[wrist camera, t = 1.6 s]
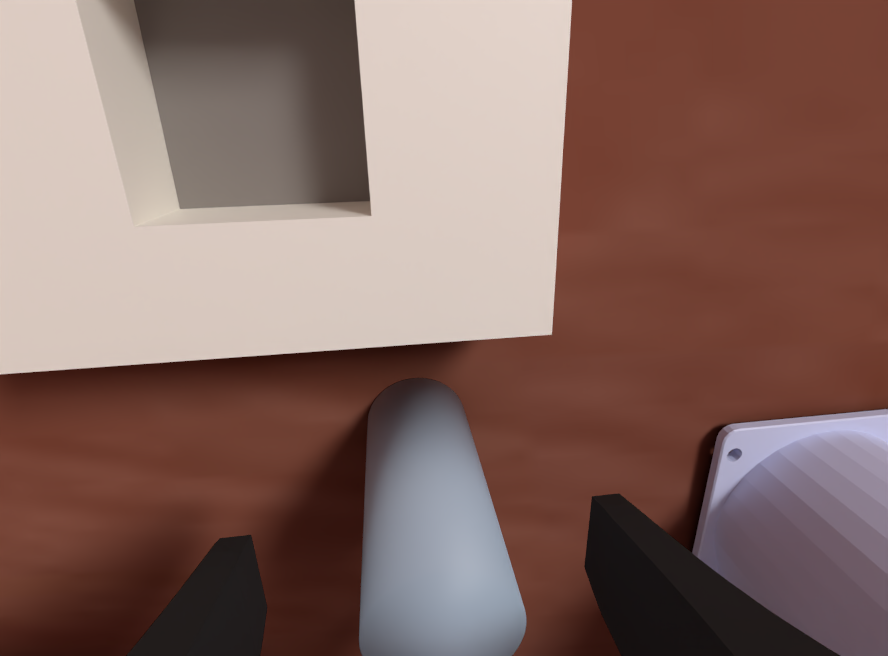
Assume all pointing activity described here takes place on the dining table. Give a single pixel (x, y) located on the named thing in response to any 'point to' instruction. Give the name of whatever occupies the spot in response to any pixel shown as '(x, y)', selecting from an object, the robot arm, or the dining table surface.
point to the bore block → (275, 176)
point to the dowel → (431, 534)
